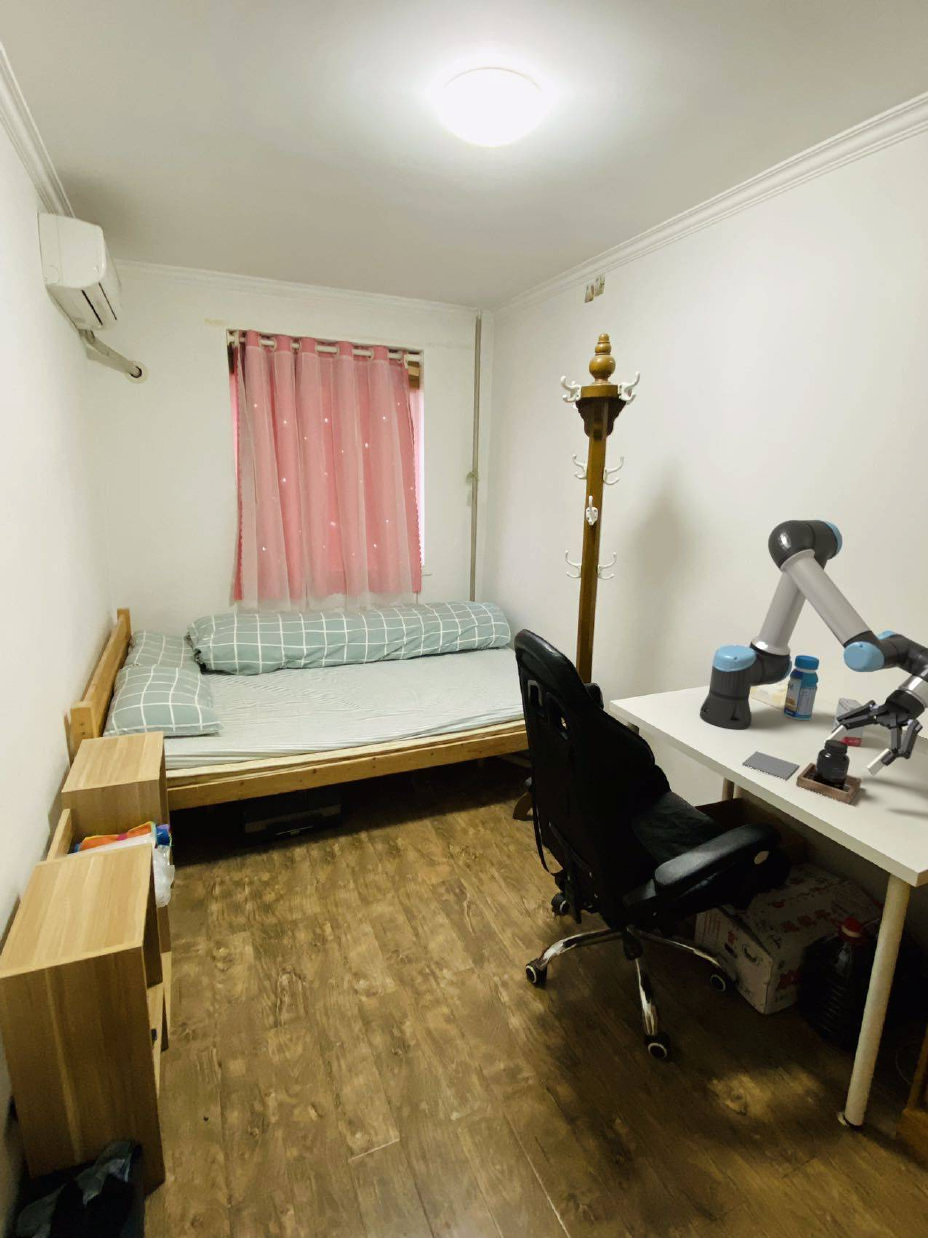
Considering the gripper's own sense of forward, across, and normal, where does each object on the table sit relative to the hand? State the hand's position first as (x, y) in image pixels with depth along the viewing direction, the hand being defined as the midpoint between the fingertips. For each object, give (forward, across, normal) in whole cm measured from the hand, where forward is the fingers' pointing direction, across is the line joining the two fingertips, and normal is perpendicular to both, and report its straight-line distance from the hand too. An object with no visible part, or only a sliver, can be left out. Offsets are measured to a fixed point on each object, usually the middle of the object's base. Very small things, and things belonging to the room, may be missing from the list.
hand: (847, 758), depth 149 cm
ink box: (-12, +26, -24) cm, 37 cm away
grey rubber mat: (+13, +13, +1) cm, 19 cm away
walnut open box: (+8, +1, -4) cm, 9 cm away
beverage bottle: (-10, +44, -22) cm, 51 cm away
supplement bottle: (+8, +1, -4) cm, 9 cm away
